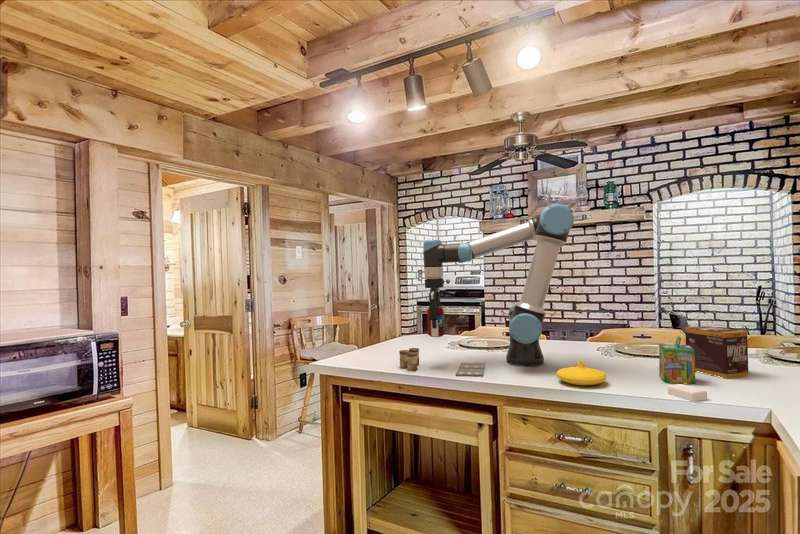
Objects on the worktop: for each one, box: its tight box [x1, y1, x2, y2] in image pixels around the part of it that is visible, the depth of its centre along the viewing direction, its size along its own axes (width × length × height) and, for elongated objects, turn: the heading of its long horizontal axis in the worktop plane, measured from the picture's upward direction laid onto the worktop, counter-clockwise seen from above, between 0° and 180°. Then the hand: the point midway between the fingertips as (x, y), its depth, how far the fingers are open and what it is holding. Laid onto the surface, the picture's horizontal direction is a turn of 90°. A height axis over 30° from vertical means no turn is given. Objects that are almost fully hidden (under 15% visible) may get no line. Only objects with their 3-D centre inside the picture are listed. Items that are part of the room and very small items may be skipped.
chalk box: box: [658, 335, 697, 385], centre depth 148 cm, size 9×9×15 cm
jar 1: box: [399, 349, 410, 370], centre depth 180 cm, size 4×4×7 cm
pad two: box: [458, 362, 486, 370], centre depth 178 cm, size 10×10×1 cm
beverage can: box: [426, 305, 446, 338], centre depth 178 cm, size 7×7×12 cm
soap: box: [667, 383, 708, 403], centre depth 130 cm, size 9×6×3 cm, turn 15°
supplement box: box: [684, 325, 750, 379], centre depth 156 cm, size 10×15×16 cm
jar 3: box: [406, 352, 419, 372], centre depth 176 cm, size 4×4×7 cm
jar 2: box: [408, 347, 420, 367], centre depth 185 cm, size 4×4×7 cm
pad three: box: [455, 367, 485, 378], centre depth 167 cm, size 10×10×1 cm
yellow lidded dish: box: [556, 361, 608, 386], centre depth 149 cm, size 16×16×7 cm
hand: (436, 334), depth 178 cm, fingers closed on beverage can, 7 cm apart
